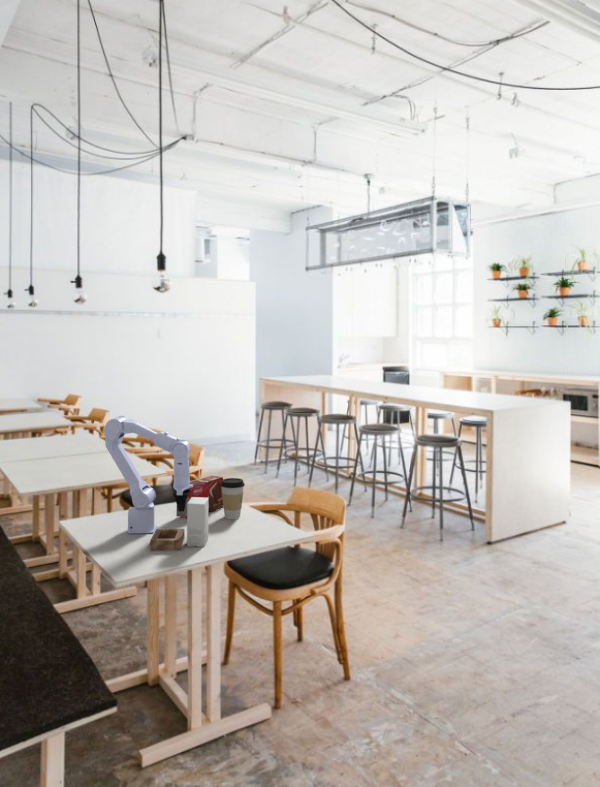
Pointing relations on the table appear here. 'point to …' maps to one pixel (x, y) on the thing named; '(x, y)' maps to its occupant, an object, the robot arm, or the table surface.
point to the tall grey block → (183, 513)
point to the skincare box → (197, 521)
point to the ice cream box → (208, 491)
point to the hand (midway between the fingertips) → (181, 509)
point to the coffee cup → (232, 497)
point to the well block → (167, 539)
